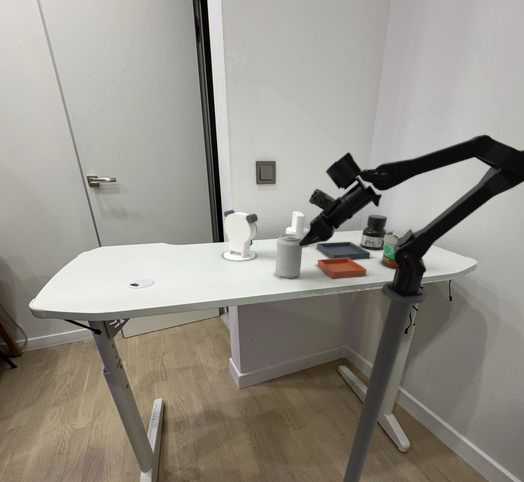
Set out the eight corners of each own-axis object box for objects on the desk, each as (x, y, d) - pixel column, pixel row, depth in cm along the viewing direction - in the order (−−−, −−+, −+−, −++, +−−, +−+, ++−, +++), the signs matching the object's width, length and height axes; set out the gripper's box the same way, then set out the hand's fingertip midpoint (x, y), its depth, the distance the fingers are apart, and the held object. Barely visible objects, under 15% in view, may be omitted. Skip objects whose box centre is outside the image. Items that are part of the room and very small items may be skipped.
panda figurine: (263, 254, 105) (264, 212, 98) (244, 263, 97) (244, 217, 90) (236, 248, 111) (236, 208, 104) (217, 256, 102) (214, 212, 95)
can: (279, 280, 85) (282, 239, 79) (272, 270, 91) (273, 233, 86) (303, 278, 87) (307, 238, 81) (294, 269, 93) (297, 231, 88)
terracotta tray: (365, 275, 90) (366, 269, 89) (332, 278, 87) (333, 272, 86) (347, 263, 99) (348, 257, 98) (317, 265, 97) (317, 259, 96)
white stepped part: (283, 241, 121) (285, 211, 116) (304, 240, 122) (307, 211, 117) (287, 247, 114) (289, 216, 108) (309, 247, 114) (312, 216, 109)
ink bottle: (355, 246, 117) (360, 216, 111) (364, 242, 123) (370, 213, 117) (378, 252, 111) (385, 220, 106) (387, 247, 117) (394, 217, 111)
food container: (370, 259, 103) (376, 231, 98) (385, 258, 105) (391, 230, 100) (394, 272, 93) (402, 241, 88) (410, 270, 94) (418, 240, 90)
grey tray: (369, 258, 105) (370, 252, 104) (333, 260, 101) (334, 255, 100) (349, 246, 117) (350, 241, 116) (316, 248, 113) (317, 243, 113)
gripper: (335, 176, 81) (294, 212, 90) (324, 181, 66) (275, 225, 74) (359, 207, 82) (316, 241, 91) (354, 220, 67) (302, 259, 75)
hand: (303, 240), depth 83 cm, fingers open, 9 cm apart
